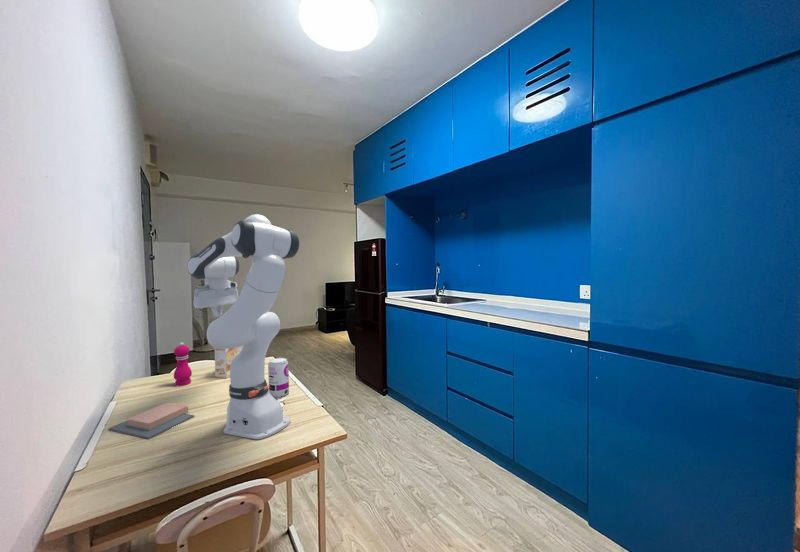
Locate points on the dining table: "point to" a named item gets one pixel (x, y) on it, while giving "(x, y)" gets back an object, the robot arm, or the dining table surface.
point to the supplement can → (278, 377)
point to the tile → (157, 416)
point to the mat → (152, 433)
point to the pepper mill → (182, 366)
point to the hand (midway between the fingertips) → (217, 315)
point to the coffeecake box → (225, 361)
